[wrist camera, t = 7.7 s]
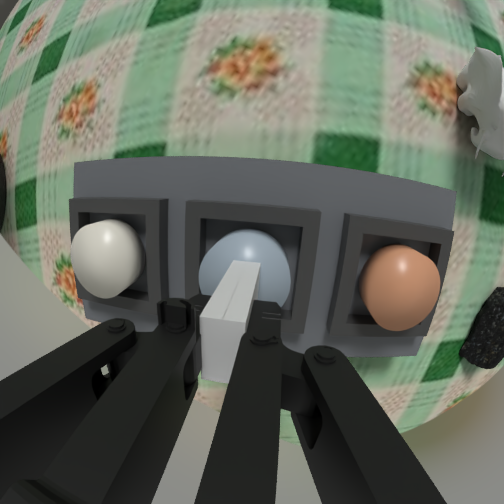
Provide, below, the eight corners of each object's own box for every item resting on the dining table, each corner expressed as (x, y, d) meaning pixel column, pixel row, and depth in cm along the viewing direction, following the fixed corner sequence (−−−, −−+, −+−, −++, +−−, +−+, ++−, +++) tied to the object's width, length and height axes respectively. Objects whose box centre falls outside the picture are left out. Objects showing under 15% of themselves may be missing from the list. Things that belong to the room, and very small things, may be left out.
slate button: (208, 300, 18) (198, 316, 16) (210, 225, 17) (199, 232, 15) (284, 308, 18) (284, 326, 16) (293, 232, 17) (295, 240, 14)
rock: (452, 357, 23) (474, 385, 18) (486, 277, 21) (518, 297, 15) (483, 357, 23) (505, 381, 17) (515, 286, 20) (543, 303, 15)
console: (107, 301, 25) (77, 325, 20) (101, 163, 22) (62, 162, 16) (400, 333, 23) (422, 365, 18) (431, 188, 19) (467, 192, 14)
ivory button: (93, 280, 19) (75, 291, 17) (88, 217, 18) (68, 222, 16) (146, 290, 19) (131, 304, 16) (144, 220, 18) (126, 226, 15)
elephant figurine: (438, 151, 18) (503, 144, 10) (440, 47, 15) (486, 13, 7) (500, 184, 18) (559, 192, 9) (501, 87, 15) (550, 73, 6)
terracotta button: (351, 312, 18) (360, 330, 15) (365, 239, 16) (379, 248, 14) (413, 314, 17) (427, 330, 15) (429, 247, 16) (448, 257, 14)
